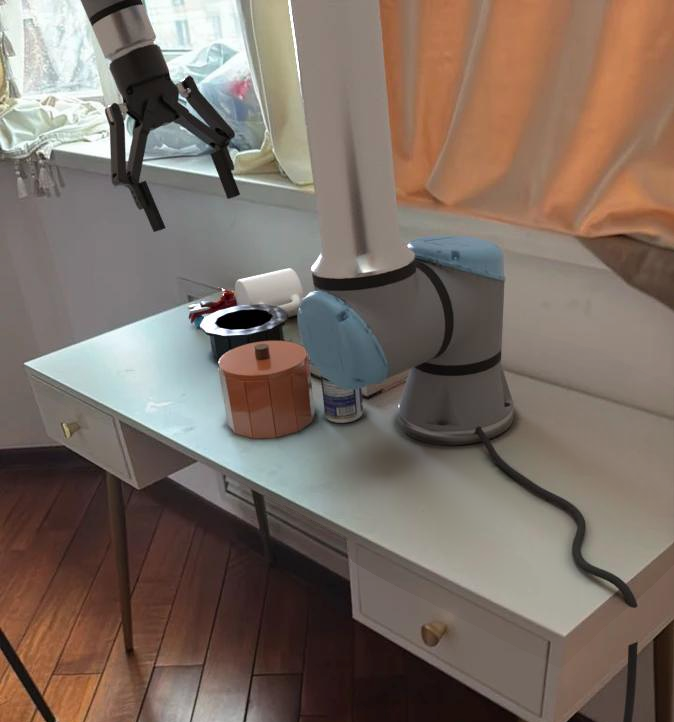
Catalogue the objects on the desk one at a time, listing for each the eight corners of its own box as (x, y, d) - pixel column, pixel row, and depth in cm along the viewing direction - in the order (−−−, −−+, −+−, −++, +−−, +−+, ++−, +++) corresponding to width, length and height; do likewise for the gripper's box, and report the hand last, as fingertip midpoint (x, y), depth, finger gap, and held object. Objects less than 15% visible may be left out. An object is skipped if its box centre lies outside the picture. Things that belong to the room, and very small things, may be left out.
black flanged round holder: (304, 355, 138) (300, 321, 134) (222, 376, 134) (216, 342, 130) (273, 330, 148) (268, 298, 145) (196, 348, 144) (190, 316, 141)
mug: (238, 320, 154) (231, 275, 149) (289, 307, 157) (283, 263, 152) (262, 339, 145) (256, 292, 140) (315, 326, 148) (311, 279, 143)
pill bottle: (339, 404, 122) (333, 337, 116) (370, 411, 119) (366, 343, 113) (317, 419, 118) (309, 351, 112) (349, 426, 116) (343, 357, 110)
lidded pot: (327, 423, 117) (320, 349, 111) (246, 446, 114) (233, 371, 107) (294, 393, 126) (285, 323, 120) (218, 414, 122) (205, 343, 116)
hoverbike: (258, 320, 153) (254, 288, 150) (193, 332, 151) (187, 300, 147) (252, 311, 157) (248, 280, 153) (188, 323, 155) (182, 292, 151)
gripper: (194, 35, 123) (250, 188, 133) (43, 87, 113) (116, 247, 123) (218, 18, 117) (275, 179, 127) (61, 71, 107) (137, 241, 117)
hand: (197, 213), depth 125 cm, fingers open, 13 cm apart
